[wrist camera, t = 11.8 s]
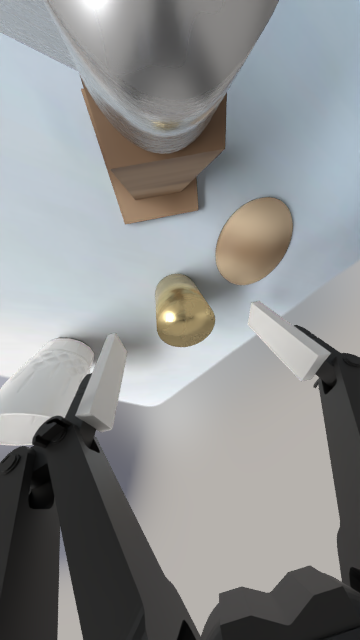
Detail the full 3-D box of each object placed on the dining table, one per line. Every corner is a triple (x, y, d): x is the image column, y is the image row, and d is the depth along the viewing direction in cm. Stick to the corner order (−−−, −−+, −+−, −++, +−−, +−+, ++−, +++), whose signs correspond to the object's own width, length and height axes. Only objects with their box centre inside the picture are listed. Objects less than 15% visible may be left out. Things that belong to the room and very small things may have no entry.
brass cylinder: (150, 278, 17) (149, 308, 11) (194, 269, 17) (215, 293, 12) (160, 315, 20) (164, 352, 15) (197, 307, 21) (214, 340, 15)
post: (86, 98, 9) (-345, -699, 1) (187, 82, 9) (380, -650, 2) (126, 224, 13) (89, 230, 5) (196, 210, 14) (258, 198, 6)
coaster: (215, 206, 14) (217, 206, 13) (300, 190, 14) (305, 189, 14) (215, 289, 19) (216, 291, 19) (276, 276, 20) (279, 277, 19)
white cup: (93, 334, 20) (55, 409, 12) (102, 367, 25) (78, 438, 17) (28, 334, 18) (-66, 420, 11) (50, 369, 23) (-5, 450, 15)
